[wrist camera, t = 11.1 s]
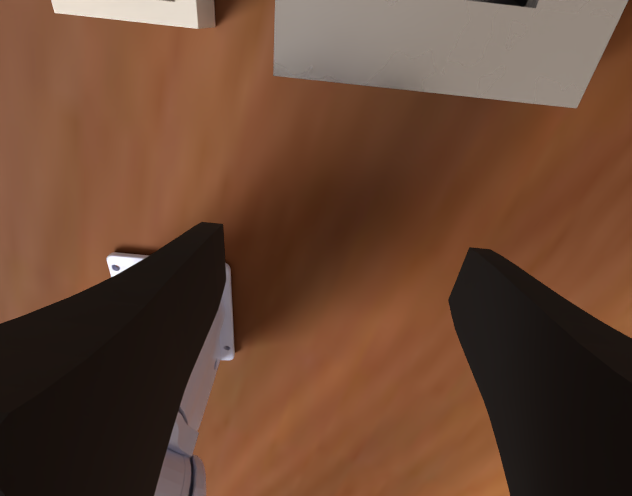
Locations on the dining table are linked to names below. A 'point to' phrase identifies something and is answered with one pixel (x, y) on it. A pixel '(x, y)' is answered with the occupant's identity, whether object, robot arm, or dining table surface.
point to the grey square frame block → (449, 45)
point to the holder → (144, 11)
